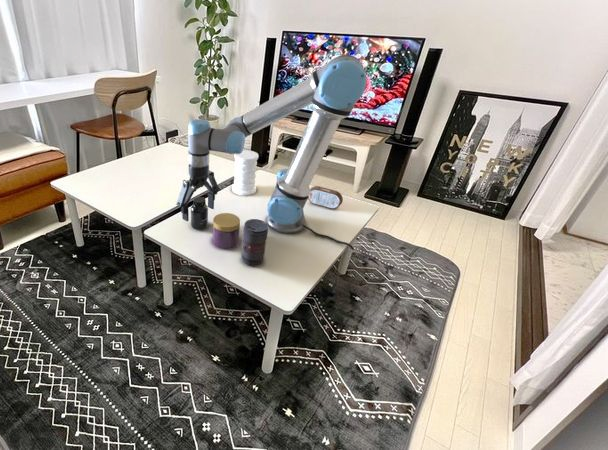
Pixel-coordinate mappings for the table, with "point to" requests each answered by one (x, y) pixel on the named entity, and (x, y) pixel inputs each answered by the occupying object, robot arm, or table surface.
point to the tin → (325, 197)
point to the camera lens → (254, 241)
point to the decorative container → (245, 173)
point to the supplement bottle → (199, 214)
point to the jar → (226, 238)
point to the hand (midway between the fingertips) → (198, 213)
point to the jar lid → (226, 222)
